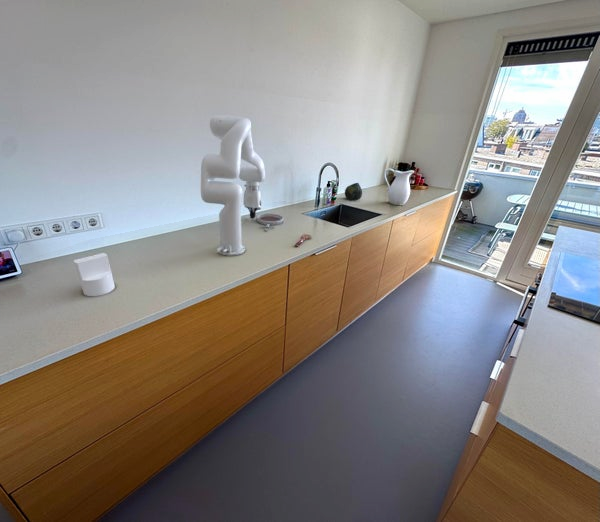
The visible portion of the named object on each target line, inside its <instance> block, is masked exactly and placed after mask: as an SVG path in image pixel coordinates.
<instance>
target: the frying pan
mask: <svg viewBox="0 0 600 522" xmlns="http://www.w3.org/2000/svg"><path fill="white" fill-rule="evenodd" d="M255 219H256V221H257V223H258V224H260V225H259V227H260V228H262V229H264V232H267V231H268V229H275V226H279V225H281V224H283V222H284V220H285V219H284V216H283V215H281V214H277V213H268V212H267V213H261V214H258V215H257V216H255Z"/></svg>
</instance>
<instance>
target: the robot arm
mask: <svg viewBox="0 0 600 522" xmlns="http://www.w3.org/2000/svg"><path fill="white" fill-rule="evenodd" d="M209 128H210V129H209V130H210V131H211V133H212V135H213V136H214V137H216V138H217V139H219V140H220V149H219V150H220V151H219V154H213V153H208V154H205V155H204V156H203V157H202V160H201V164H200V197H201V200H202V201H203V202H204V203H207V204H213V205H214V204H216V205H222V206H223V207H222V208H221V210H220V211H219V215H218V219H219V220H218V221H219V222H218V223H219V240H220V243H219V246H218V247H217V248H216V249H215V250H214V252H215V253H216V254H220V255H222V256H229V257H231V256H232V257H233V256H240V255H242V254H243V253H245V251H246V246H244V245H243V244H242V202H243V206H244V208H246V209H247V210H248V212H249V219H256V217H257V216H256V215H257V214H256V212H257V211H260V210H262V194H261V190H260V183H263V182H264V181H265V179H266V169H265V168H266V167H265V163H264V161H263V159H262V158H261V156H259V154H258V153H257V152H255V150H254V143H253V135H252V131H251V130H252V122H251V120H250V118H247V117H246V116H238V115H237V116H236V115H225V114H224V115H223V114H215V115H212V117H211V118H210V120H209ZM242 160H243V161H245V162H246V163H248V164H251V165H246V166H242V167H241V164H242ZM238 178H239V180H241V181H243V182H245V184H244V185H243V187H244V188H245V189H244V192H243V188H242V186H241V185H240V184H238V183H237V182H231V181H219V180H218V181H217V180H215V179H224V180H225V179H227V180H235V179H238ZM242 200H243V201H242Z"/></svg>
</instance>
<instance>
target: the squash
mask: <svg viewBox="0 0 600 522" xmlns="http://www.w3.org/2000/svg"><path fill="white" fill-rule="evenodd" d="M344 196H345V199H346V200H349V201H352V200H354V201H359V200H360V199H361V198H362V196H363V189H362V187H361V185H360V183H359V182H355V183H352V184H349V185H347V186H346V188H345V189H344Z"/></svg>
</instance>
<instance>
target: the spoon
mask: <svg viewBox="0 0 600 522" xmlns="http://www.w3.org/2000/svg"><path fill="white" fill-rule="evenodd" d="M311 239H312V235H310V234H308V233H307V234H306V233H305V234H304V233H303V234H302V235H301V239H300V240H298V241H297V242H296V243H295V244H294V247H295V248H298V247H299V246H300V245H301V244H302V243H304V241H307V240H311Z"/></svg>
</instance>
